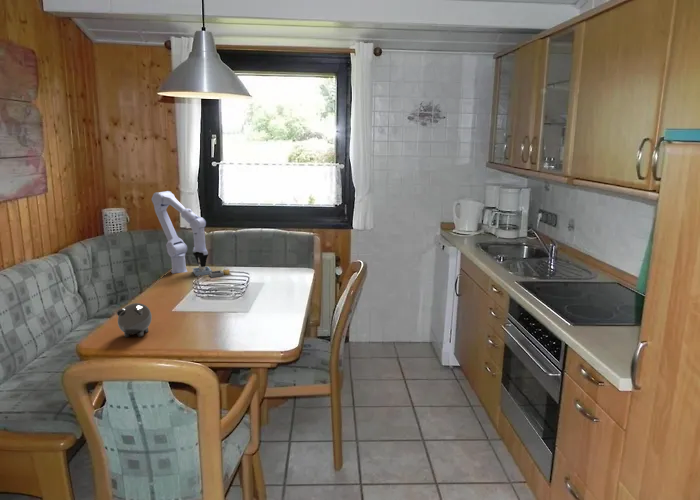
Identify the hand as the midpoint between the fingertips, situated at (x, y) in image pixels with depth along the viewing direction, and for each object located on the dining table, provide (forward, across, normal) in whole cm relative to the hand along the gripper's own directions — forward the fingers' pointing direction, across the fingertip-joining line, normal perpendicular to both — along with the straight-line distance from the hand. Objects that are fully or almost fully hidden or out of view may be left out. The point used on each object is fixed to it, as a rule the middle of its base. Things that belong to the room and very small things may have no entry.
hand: (201, 266), depth 283 cm
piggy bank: (+5, +71, -55) cm, 90 cm away
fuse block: (+4, +12, +5) cm, 13 cm away
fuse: (+2, 0, 0) cm, 2 cm away
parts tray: (+4, 0, 0) cm, 4 cm away
